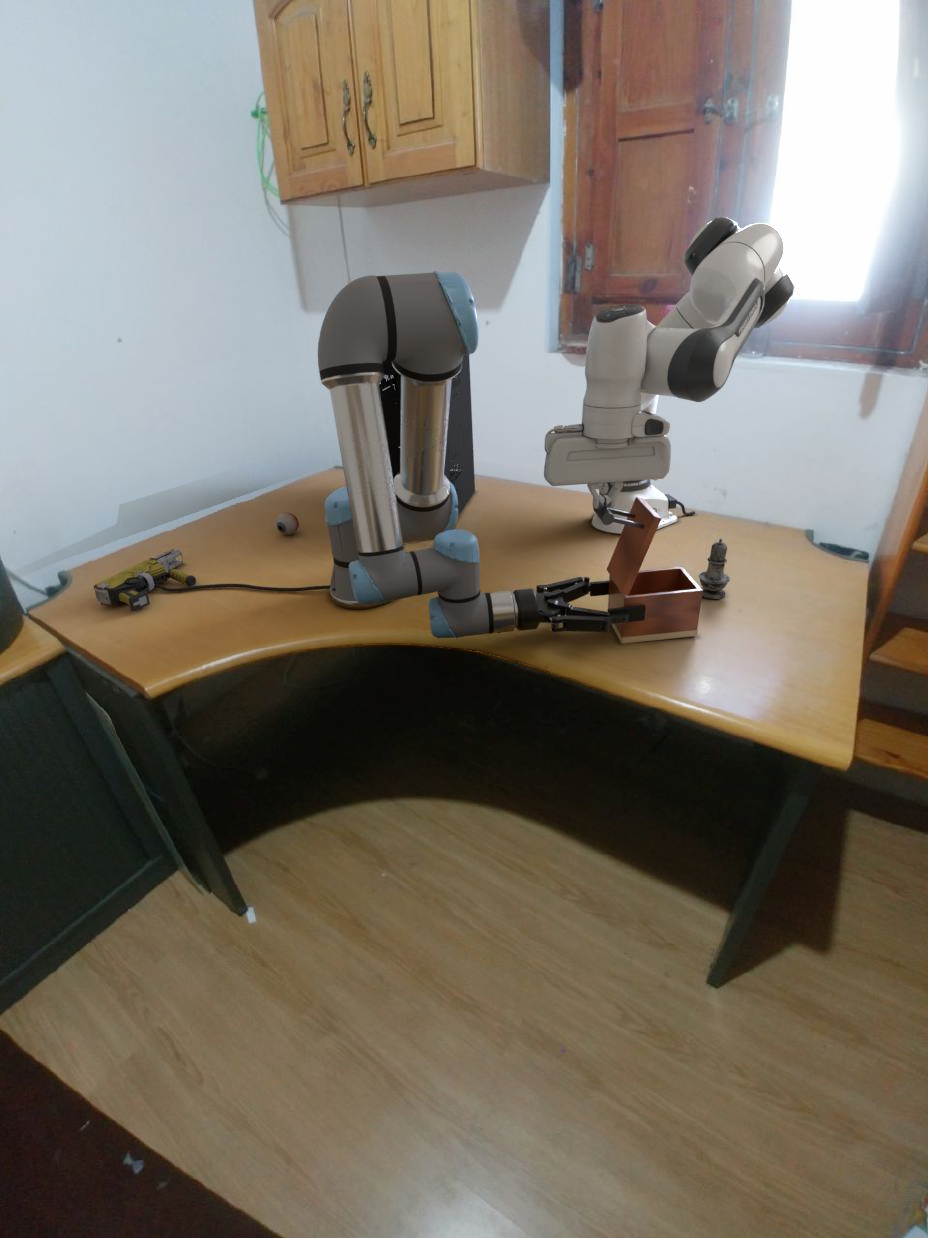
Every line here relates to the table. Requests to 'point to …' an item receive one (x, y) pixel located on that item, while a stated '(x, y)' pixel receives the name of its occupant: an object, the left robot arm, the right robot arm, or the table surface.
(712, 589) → the grey chess piece
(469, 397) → the cardboard box
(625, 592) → the lid
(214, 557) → the table surface
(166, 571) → the toy gun
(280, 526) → the eyeball
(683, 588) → the chest
